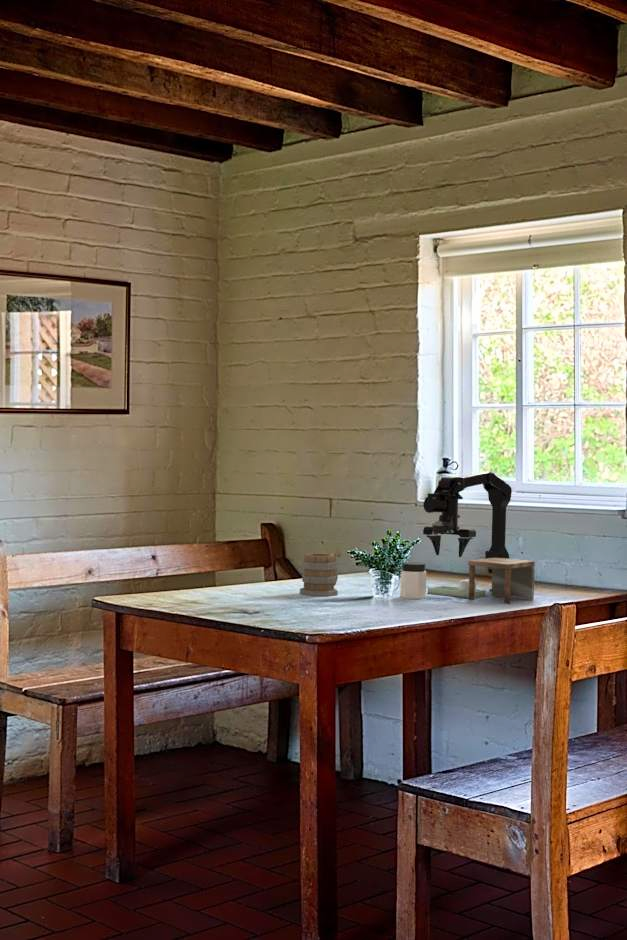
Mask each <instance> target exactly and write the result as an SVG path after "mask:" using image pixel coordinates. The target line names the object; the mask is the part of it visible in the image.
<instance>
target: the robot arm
mask: <svg viewBox="0 0 627 940" xmlns="http://www.w3.org/2000/svg"><path fill="white" fill-rule="evenodd" d="M479 485H482V486H483V489H484V490H485V492H487V497H488V501H489V503H490V506H491V508H492V511H491V513H492V514H491V515H492V516H491V517H492V518H491V545H490V547H489V549H488V550H485V557H484V559H487V558H506V559H510V555H509V552H508V550H507V548H506V531H507V530H506V527H507V526H506V524H507V508H508V505H509V504H510V502H511V500H512V499H511V498H512V491H513V490H512V487H511V486H510V484H509V483H506V481H504V480H503V479H501V478H500V477H498V475H496V474H495V473H494V472H492V471H481V472H477V473H473V474H468V475H462V476H443V477H441V478H440V481H439V483H438V485H437V486H436V488H435V490H434V492H433V493H431V492H430V493H429V492H428V493H427V497H425V499H424V501H423V505H422V506H423V509H424V511H425V512H426V513H428V514H430V513H431V514H433V513H434V514H435V513H441V514H439V519H438V520H436V521H435V522H433V523H432V525H429V526H428V525H425V526H424V527H423V529H422V535H425V536H426V538H428V539H429V540H430V541H431V543H432V547H433V549H434V552H435V555H436V556H439V555H440V550H441V541H442V540H441V539H442V535H451V536H452V535H453V536H454V535H455V536H459V537H458V538H457V541H458V558H462V557H463V554H464V553H465V550H466V548H467V546H468V544H469V542H470V541H471V540H473V539H474V538H476V537H477V531H476V530H475V528H468V527H466V528H460V526H459V525H458V524H459V523H458V521H459V518H460V514H459V500H463V499H464V497H463V496H462V495H461V494H460V492H463V491H464V490H465V489H466V488H470V487H474V486H479ZM486 568H487V572H488V574H490V575H491V574H492V567H486ZM489 591H490V592H492V588H490V589H489Z"/></svg>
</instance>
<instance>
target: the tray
mask: <svg viewBox="0 0 627 940" xmlns="http://www.w3.org/2000/svg"><path fill="white" fill-rule="evenodd" d="M458 584H459V587H458V586H450V585H439V586H438V585H437V586H430V587H427V594H428V595H429V594H431V595H440V596H447V597H448V596H449V597H457V598H465V599H469V578H466V579H461V580H459V583H458ZM486 591H487V590H485V589H477V580H476V579H475V595H474V599H475V598H481V597H485V596H486V594H487V592H486Z"/></svg>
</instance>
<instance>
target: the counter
mask: <svg viewBox="0 0 627 940" xmlns="http://www.w3.org/2000/svg"><path fill="white" fill-rule="evenodd" d="M535 564H536V561H535V560H526V559H515V558H509V559H506V558H487V559H485V558H479V559H471V560H468V564H467V565H468V567H469V572H468V573H469V576H468V579H469V598H468V600H469V601H474V600H475V598H474V595H475V580H476V567H483V568H484V567H486V568H487V567H492V575H491V589H492V591H491V596H492V597H494V596H495V597H502V598H503V604H504V605H511V599H520V600H529V601H533V600H534V598H535V597H534V596H535V595H534V594H535V566H536V565H535Z"/></svg>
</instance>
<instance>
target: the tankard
mask: <svg viewBox="0 0 627 940" xmlns="http://www.w3.org/2000/svg"><path fill="white" fill-rule="evenodd" d="M342 555H343V552H342V551H340V550H339V549H335V550H334V551H333V552H331V553H320V552H318V553H317V552H315V553H313V552H311V553H305V554H304V560H302V568H303V574H302V575H301V581H302V583H303V587H301V588H299V594H301V595H302V596H306V597H318V598H319V597H320V598H321V597H325V598H326V597H335V596H338V591H339V590H337V589H336V588H335V586H336V585H337V581H338V578H339V577H338V575H339V573H338V567H337V557H339V558H340V557H342Z"/></svg>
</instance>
